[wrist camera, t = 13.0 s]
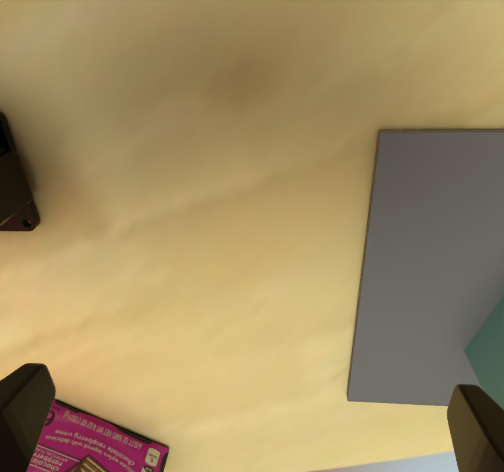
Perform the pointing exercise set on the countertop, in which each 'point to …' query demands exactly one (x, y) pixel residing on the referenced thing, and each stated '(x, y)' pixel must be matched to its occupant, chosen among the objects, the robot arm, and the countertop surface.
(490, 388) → the teal block
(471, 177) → the charcoal mat
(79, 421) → the candy bar box
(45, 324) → the countertop surface
